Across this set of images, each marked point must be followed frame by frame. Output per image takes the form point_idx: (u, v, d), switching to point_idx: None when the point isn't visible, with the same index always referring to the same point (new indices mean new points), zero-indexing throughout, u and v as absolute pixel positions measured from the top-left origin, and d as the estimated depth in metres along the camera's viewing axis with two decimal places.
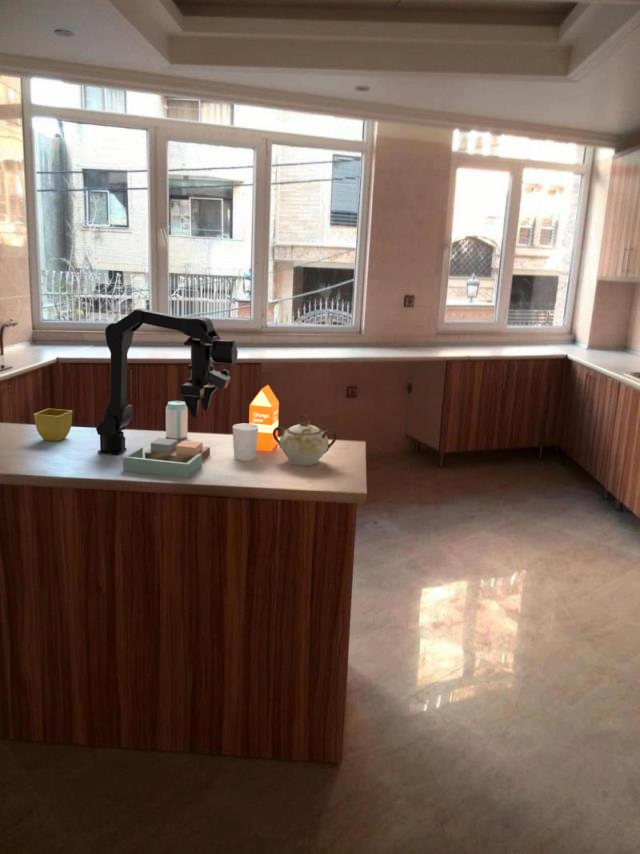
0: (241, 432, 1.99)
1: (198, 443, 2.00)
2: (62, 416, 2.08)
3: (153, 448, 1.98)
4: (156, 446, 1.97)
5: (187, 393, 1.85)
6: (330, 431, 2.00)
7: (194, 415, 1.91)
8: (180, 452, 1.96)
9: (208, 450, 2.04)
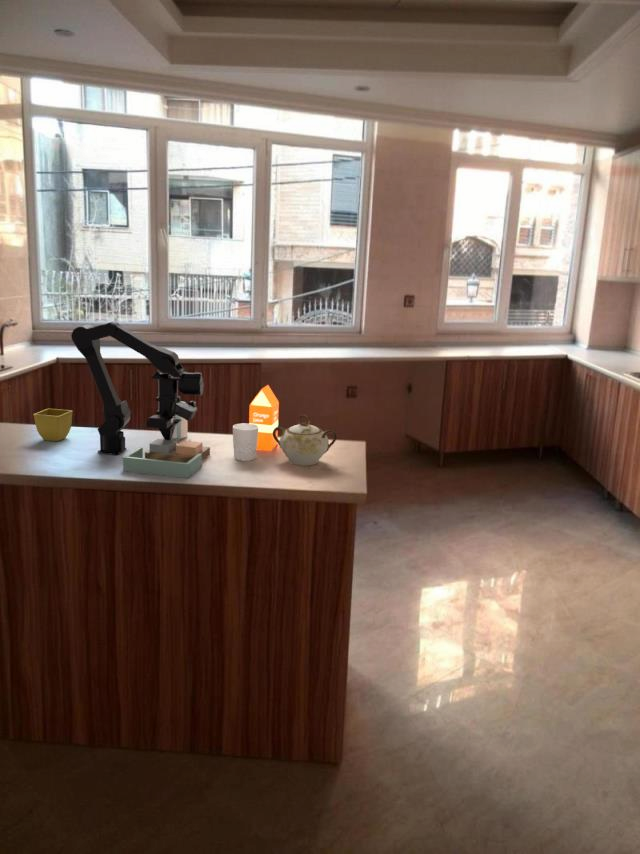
0: (241, 432, 1.99)
1: (198, 443, 2.00)
2: (62, 416, 2.08)
3: (152, 449, 1.97)
4: (155, 447, 1.96)
5: (154, 425, 1.92)
6: (330, 431, 2.00)
7: None
8: (180, 452, 1.96)
9: (208, 450, 2.04)
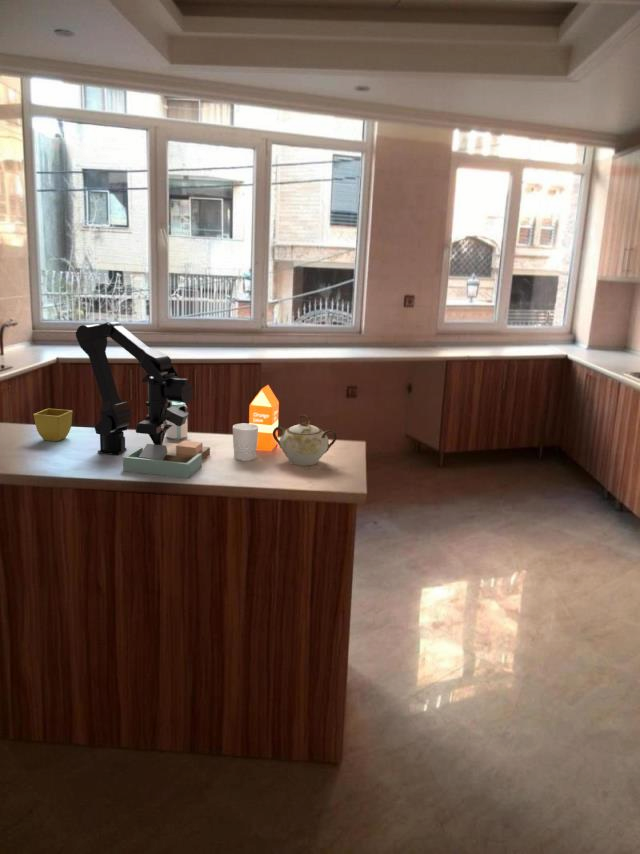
0: (241, 432, 1.99)
1: (198, 443, 2.00)
2: (62, 416, 2.08)
3: None
4: None
5: (143, 431, 1.85)
6: (330, 431, 2.00)
7: None
8: (180, 452, 1.96)
9: (208, 450, 2.04)
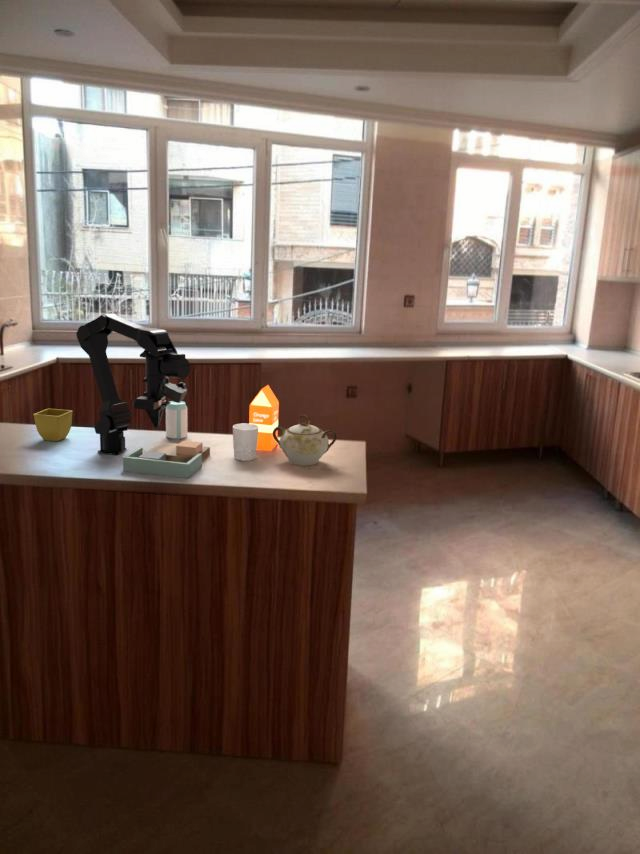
0: (241, 432, 1.99)
1: (198, 443, 2.00)
2: (62, 416, 2.08)
3: None
4: None
5: (140, 407, 1.82)
6: (330, 431, 2.00)
7: (156, 425, 1.92)
8: (180, 452, 1.96)
9: (208, 450, 2.04)
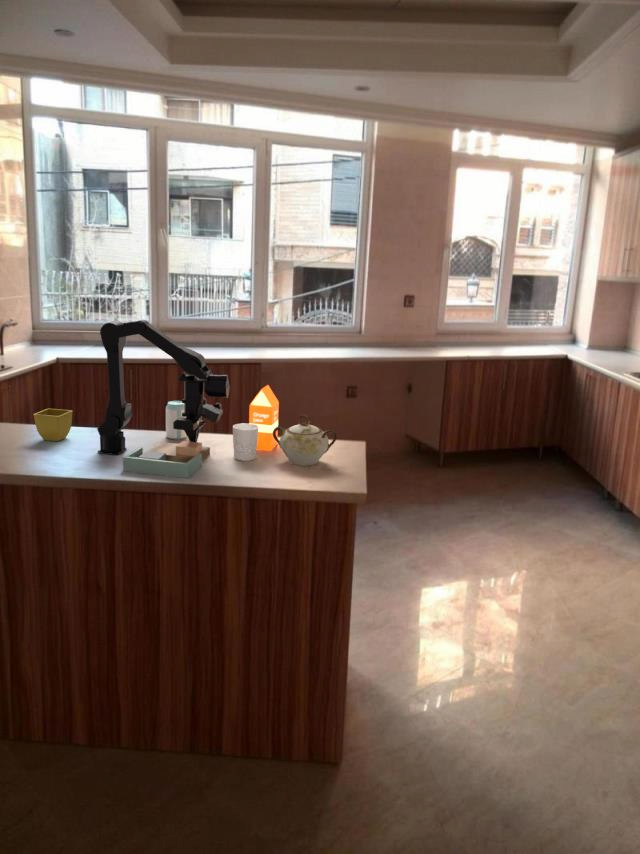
0: (241, 432, 1.99)
1: (198, 443, 1.99)
2: (62, 416, 2.08)
3: None
4: None
5: (181, 427, 1.91)
6: (330, 431, 2.00)
7: None
8: (180, 452, 1.96)
9: (208, 450, 2.04)
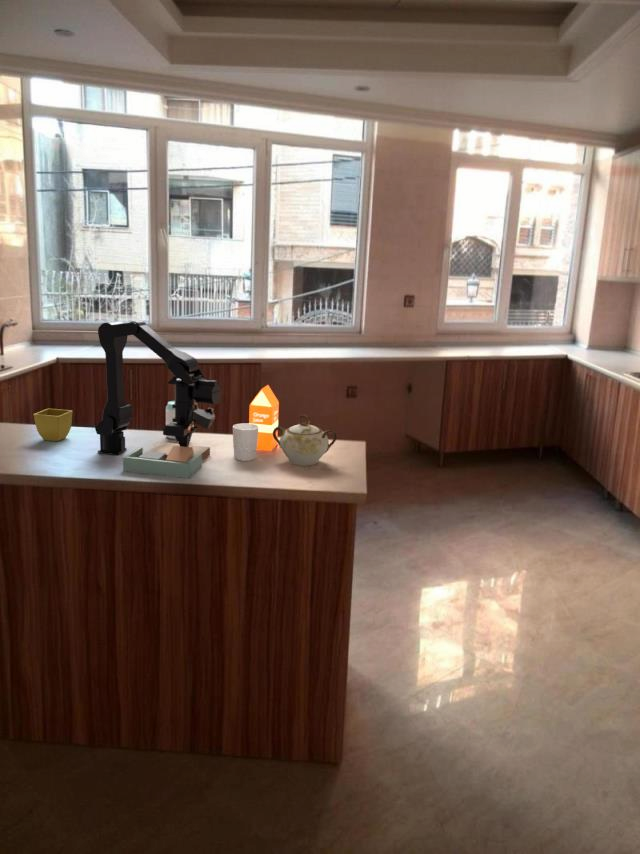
0: (241, 432, 1.99)
1: (188, 450, 1.92)
2: (62, 416, 2.08)
3: None
4: None
5: (171, 434, 1.84)
6: (330, 431, 2.00)
7: None
8: None
9: (208, 450, 2.04)
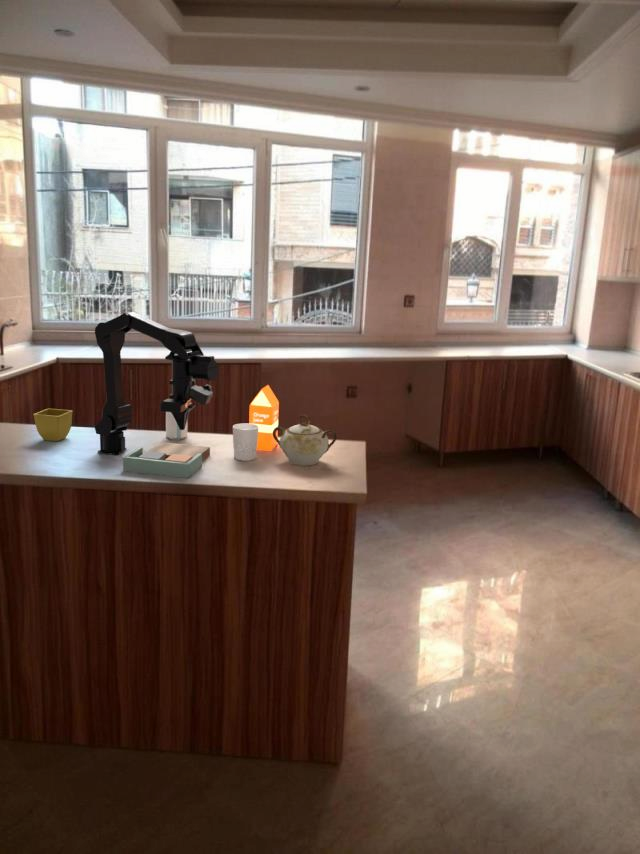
0: (241, 432, 1.99)
1: (188, 457, 1.92)
2: (62, 416, 2.08)
3: None
4: None
5: (167, 409, 1.81)
6: (330, 431, 2.00)
7: (181, 428, 1.91)
8: None
9: (208, 450, 2.04)
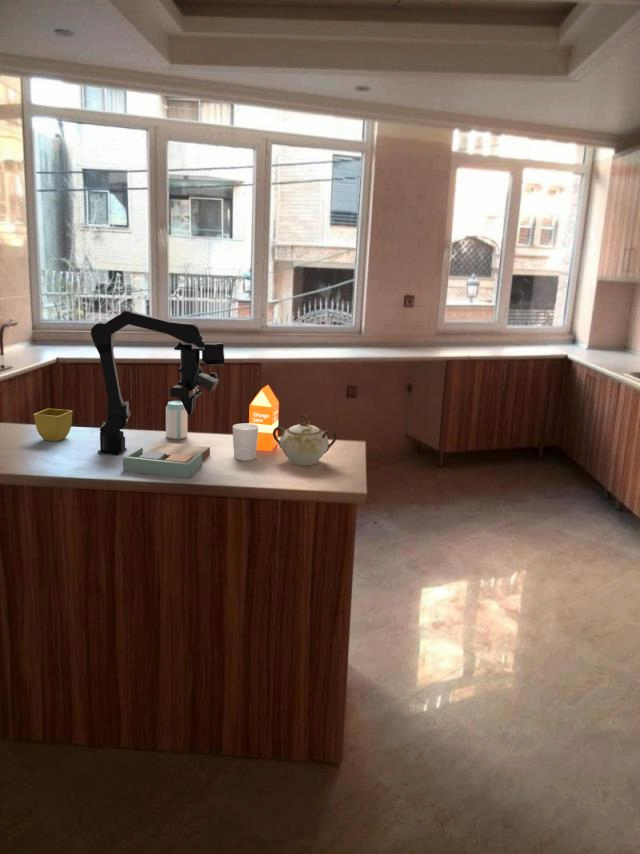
0: (241, 432, 1.99)
1: (188, 457, 1.92)
2: (62, 416, 2.08)
3: None
4: None
5: (177, 395, 1.94)
6: (330, 431, 2.00)
7: (189, 413, 2.04)
8: None
9: (208, 450, 2.04)
